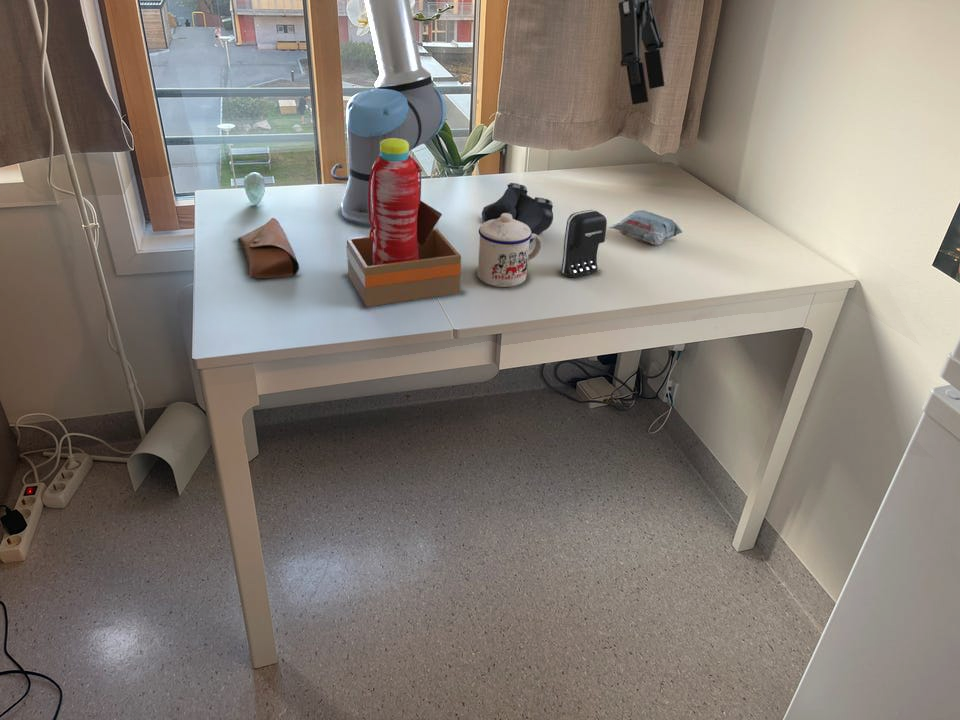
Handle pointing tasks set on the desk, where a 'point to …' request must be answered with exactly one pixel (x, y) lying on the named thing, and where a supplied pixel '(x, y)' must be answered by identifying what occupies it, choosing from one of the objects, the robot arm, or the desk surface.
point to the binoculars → (522, 209)
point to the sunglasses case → (269, 252)
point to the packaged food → (647, 227)
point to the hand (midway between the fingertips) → (649, 94)
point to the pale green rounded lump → (254, 187)
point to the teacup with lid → (505, 251)
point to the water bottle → (397, 205)
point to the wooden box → (404, 272)
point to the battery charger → (583, 242)
